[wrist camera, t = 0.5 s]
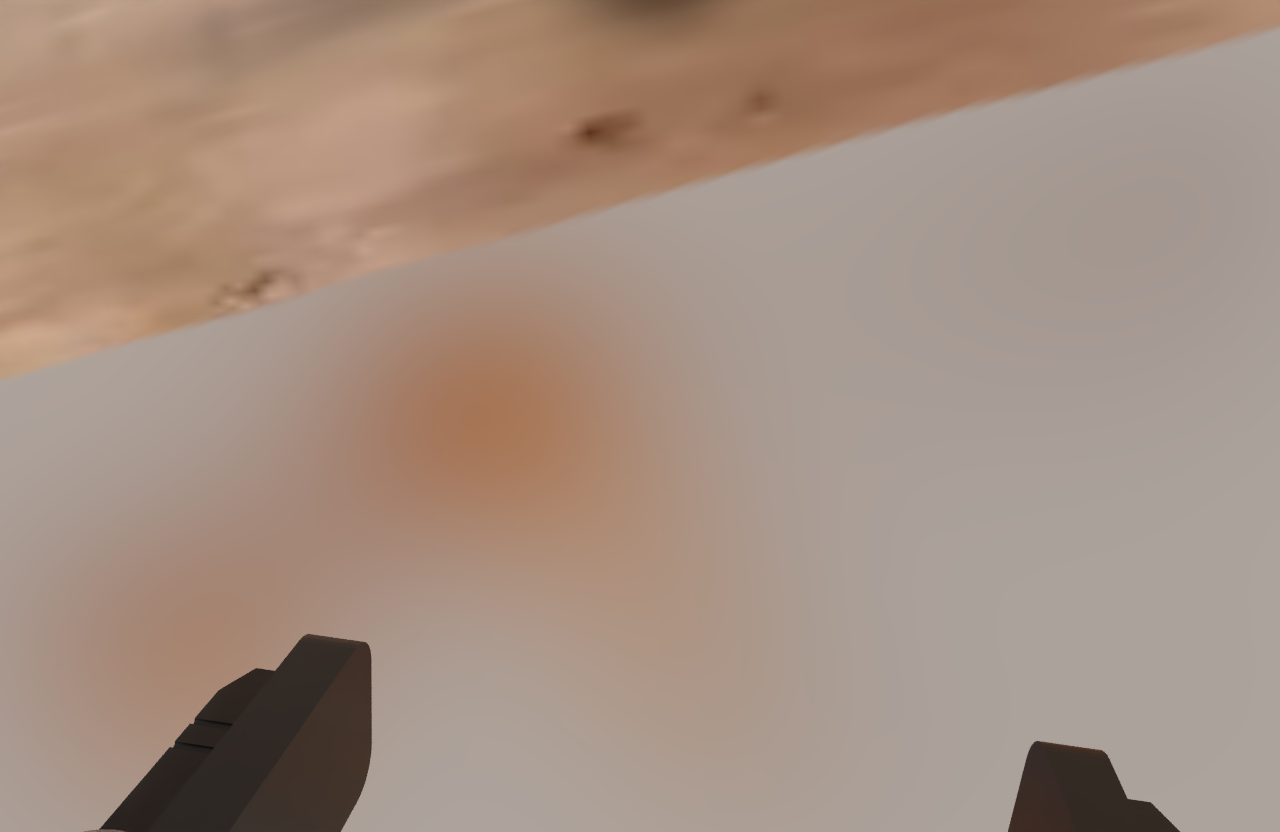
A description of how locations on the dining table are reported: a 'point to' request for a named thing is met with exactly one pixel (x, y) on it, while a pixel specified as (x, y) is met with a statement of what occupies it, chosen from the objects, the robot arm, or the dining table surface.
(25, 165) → the dining table surface
